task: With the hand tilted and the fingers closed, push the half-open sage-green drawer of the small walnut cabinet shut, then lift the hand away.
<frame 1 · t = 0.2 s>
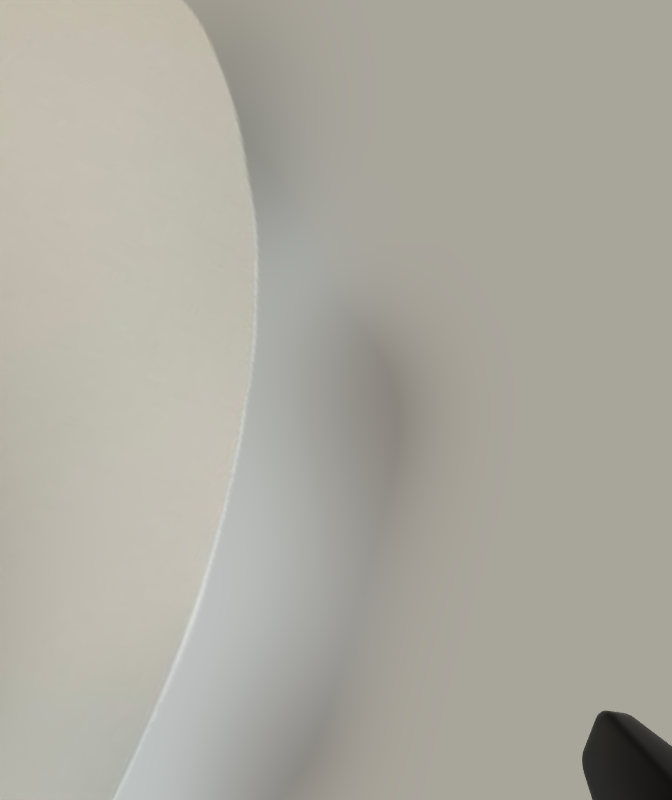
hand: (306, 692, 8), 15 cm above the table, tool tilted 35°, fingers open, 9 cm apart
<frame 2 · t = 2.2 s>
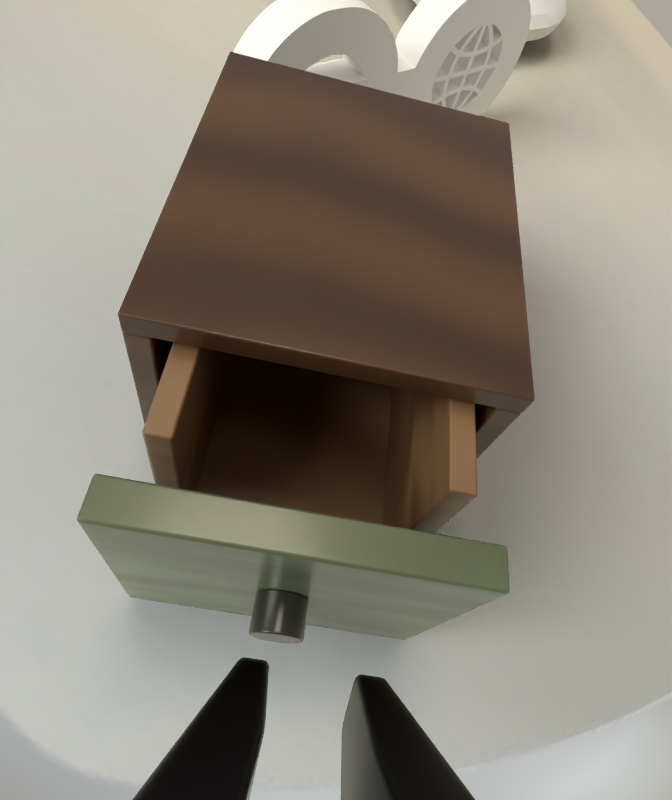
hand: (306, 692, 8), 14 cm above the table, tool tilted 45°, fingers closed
drawer: (308, 432, 19), point 5 cm above the table, slide at 4.0 cm
vase: (469, 19, 51), on the table
letter: (369, 155, 37), on the table
cabinet: (311, 369, 27), on the table
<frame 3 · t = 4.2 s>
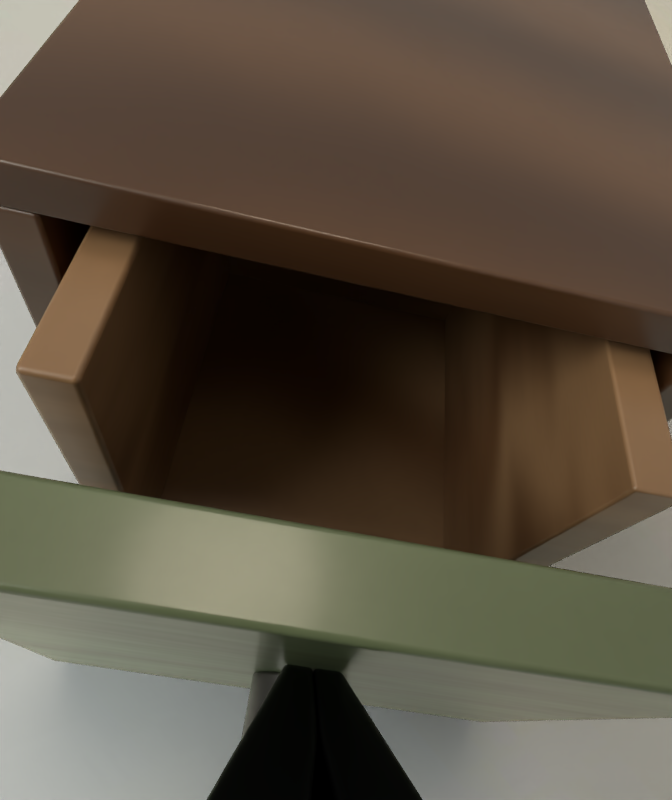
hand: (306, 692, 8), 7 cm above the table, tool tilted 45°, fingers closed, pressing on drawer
drawer: (337, 399, 12), point 5 cm above the table, slide at 3.6 cm, touching gripper
cabinet: (328, 336, 20), on the table
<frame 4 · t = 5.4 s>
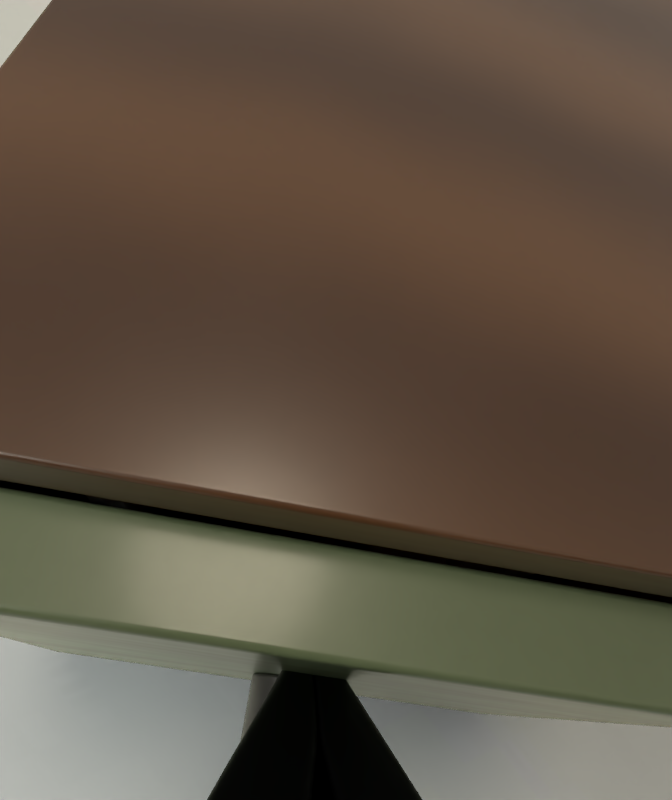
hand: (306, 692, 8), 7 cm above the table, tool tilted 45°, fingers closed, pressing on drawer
drawer: (339, 394, 12), point 5 cm above the table, slide at 0.0 cm, touching cabinet, gripper
cabinet: (318, 410, 18), on the table
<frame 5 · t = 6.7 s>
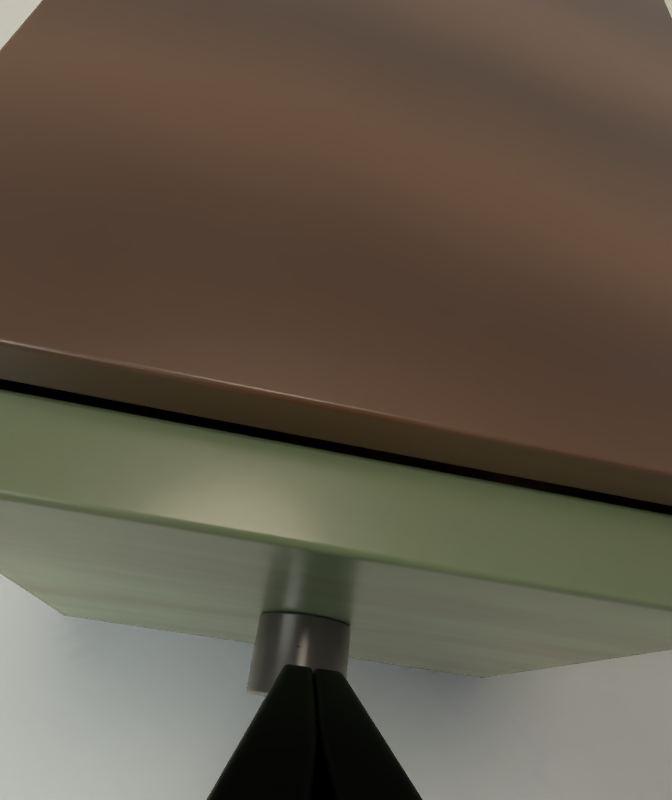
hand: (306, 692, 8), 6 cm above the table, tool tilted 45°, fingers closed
drawer: (341, 358, 12), point 5 cm above the table, slide at 0.0 cm, touching cabinet
cabinet: (318, 390, 18), on the table
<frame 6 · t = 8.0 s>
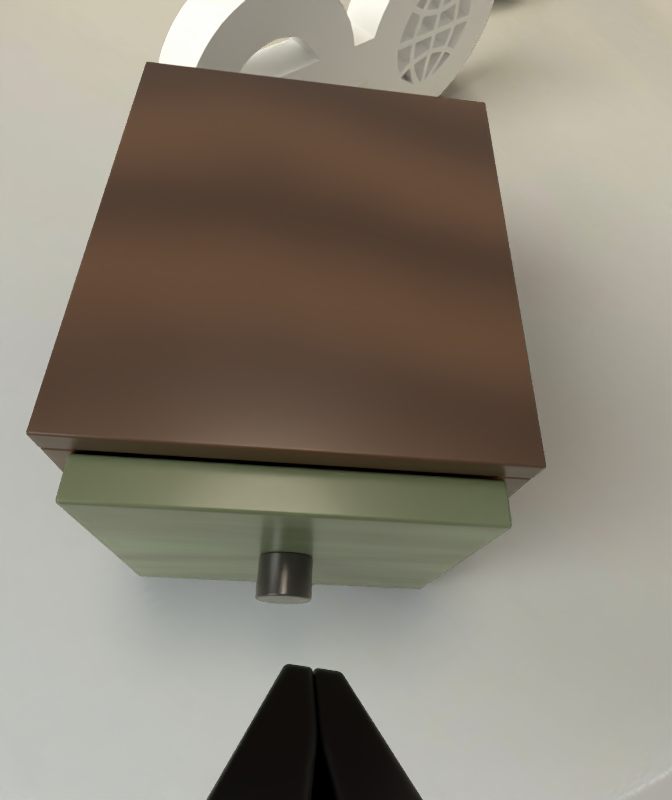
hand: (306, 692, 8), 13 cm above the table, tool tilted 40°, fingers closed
drawer: (297, 391, 19), point 5 cm above the table, slide at 0.0 cm, touching cabinet
letter: (336, 140, 34), on the table
cabinet: (295, 402, 25), on the table
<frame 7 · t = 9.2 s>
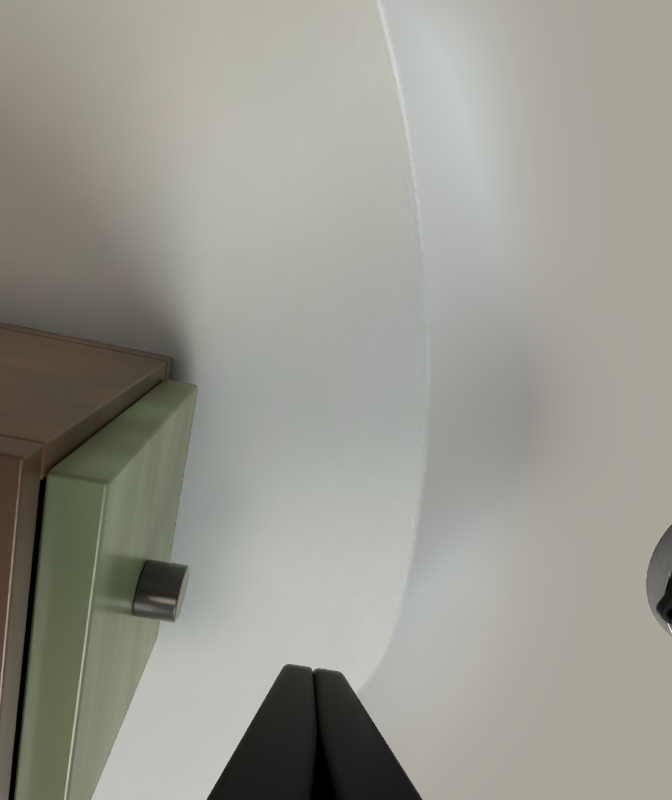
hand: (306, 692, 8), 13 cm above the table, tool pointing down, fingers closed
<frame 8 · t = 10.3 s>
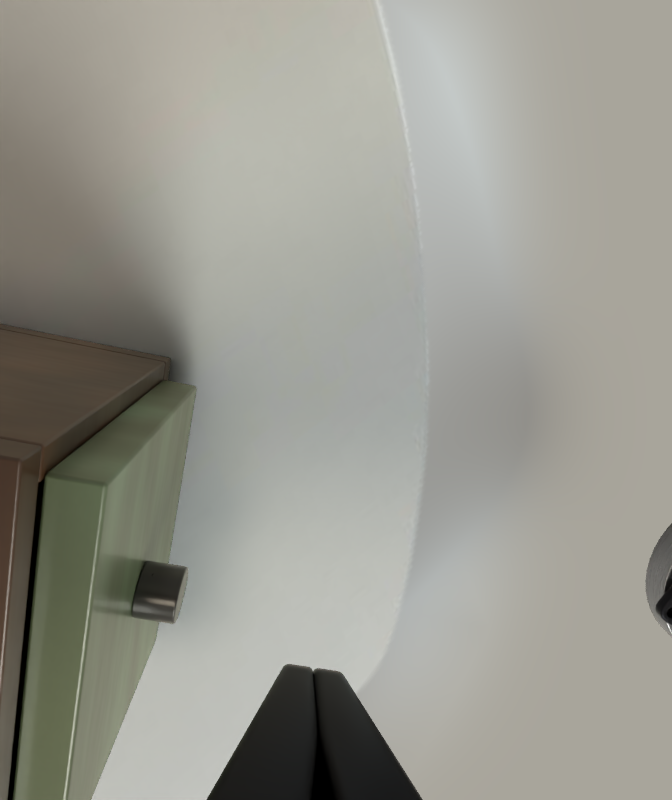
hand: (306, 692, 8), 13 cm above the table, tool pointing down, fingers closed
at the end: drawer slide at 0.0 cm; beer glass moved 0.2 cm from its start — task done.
